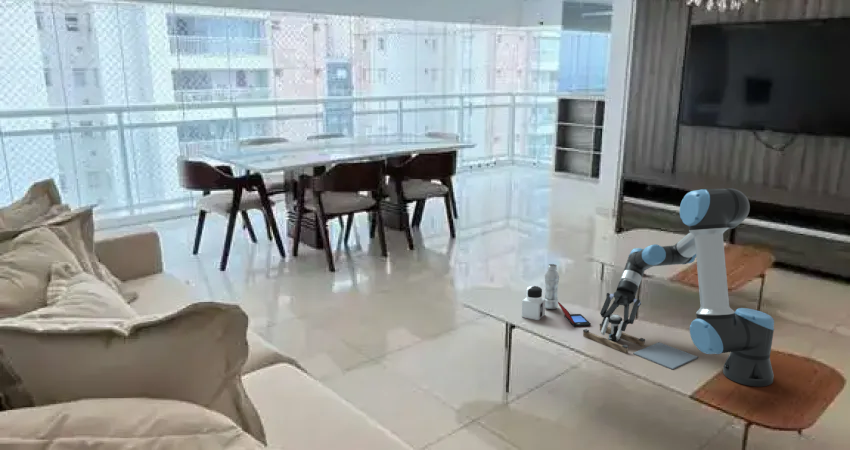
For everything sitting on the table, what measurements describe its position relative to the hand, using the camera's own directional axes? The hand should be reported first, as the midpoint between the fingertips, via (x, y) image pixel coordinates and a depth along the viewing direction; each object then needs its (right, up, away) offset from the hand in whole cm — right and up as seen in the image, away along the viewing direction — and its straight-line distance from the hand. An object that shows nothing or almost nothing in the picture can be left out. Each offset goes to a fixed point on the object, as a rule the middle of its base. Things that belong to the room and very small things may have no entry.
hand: (609, 335), depth 233 cm
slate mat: (+17, -6, -10) cm, 21 cm away
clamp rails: (+2, -3, +4) cm, 5 cm away
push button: (+2, -3, +4) cm, 5 cm away
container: (-24, +3, +29) cm, 38 cm away
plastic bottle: (-15, +5, +38) cm, 41 cm away
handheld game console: (-8, +1, +23) cm, 25 cm away
